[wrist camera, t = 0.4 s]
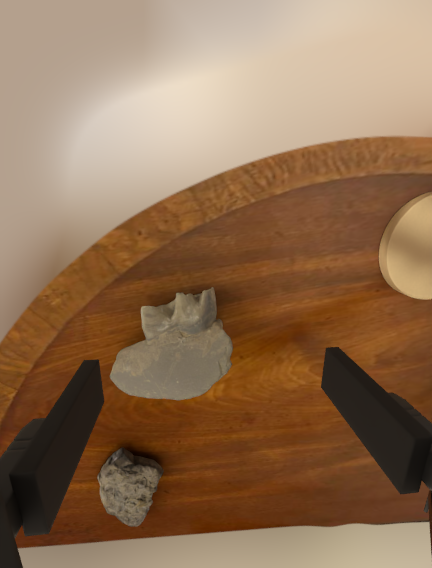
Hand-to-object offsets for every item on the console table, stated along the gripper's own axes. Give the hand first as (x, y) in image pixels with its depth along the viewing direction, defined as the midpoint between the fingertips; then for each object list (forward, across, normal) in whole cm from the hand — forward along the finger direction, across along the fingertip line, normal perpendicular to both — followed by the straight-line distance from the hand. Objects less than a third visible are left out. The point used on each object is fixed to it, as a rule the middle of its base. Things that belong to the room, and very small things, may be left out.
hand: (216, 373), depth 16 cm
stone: (+18, -10, -28) cm, 35 cm away
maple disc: (+17, +28, +5) cm, 33 cm away
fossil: (+18, -4, -5) cm, 19 cm away
